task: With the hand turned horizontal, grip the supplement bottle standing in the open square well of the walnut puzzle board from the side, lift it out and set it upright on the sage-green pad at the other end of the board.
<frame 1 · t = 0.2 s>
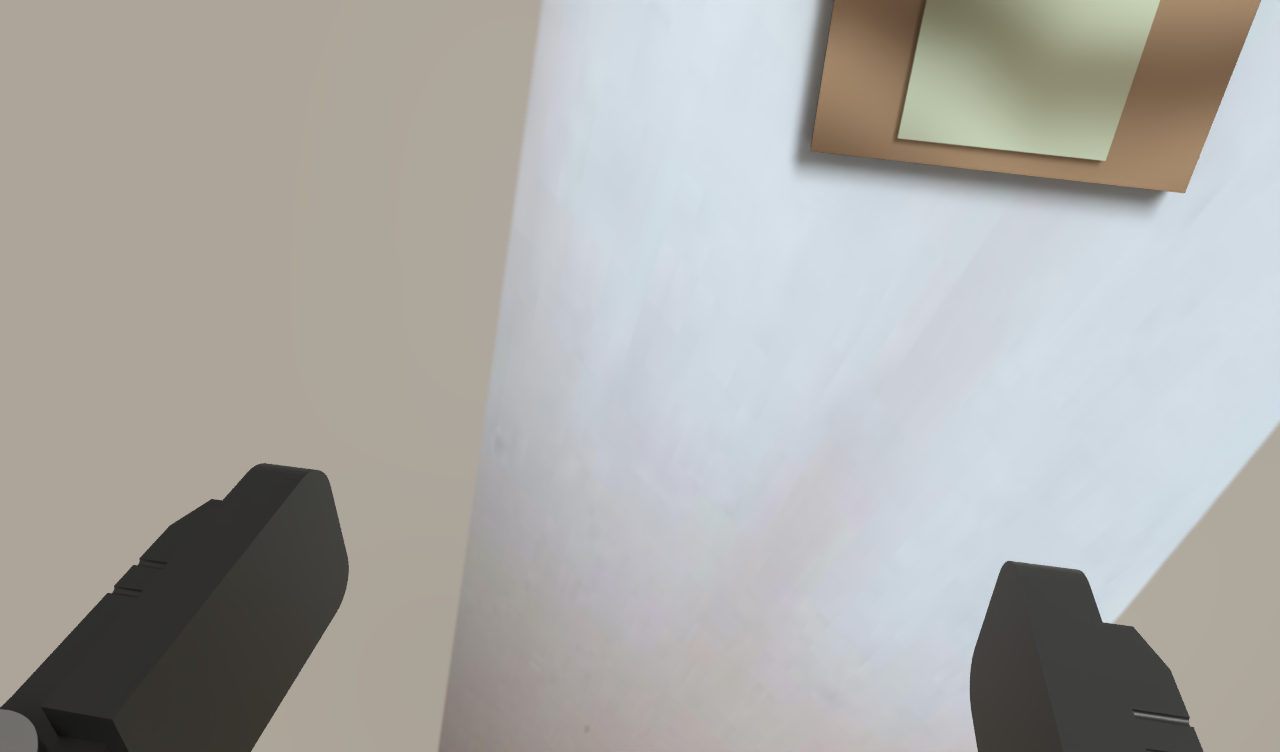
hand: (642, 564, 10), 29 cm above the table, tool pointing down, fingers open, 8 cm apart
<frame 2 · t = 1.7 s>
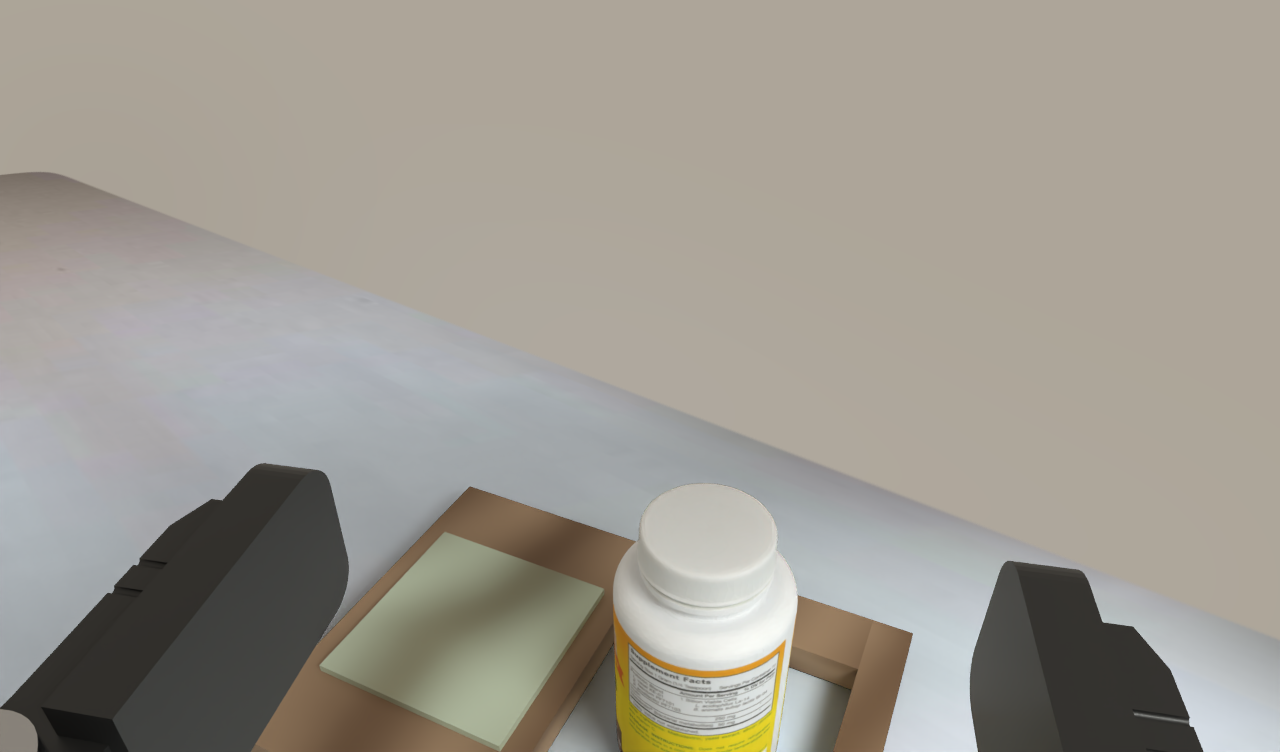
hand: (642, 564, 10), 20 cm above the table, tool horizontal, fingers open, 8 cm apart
puzzle board: (593, 701, 32), on the table
supplement bottle: (694, 747, 30), resting in puzzle board
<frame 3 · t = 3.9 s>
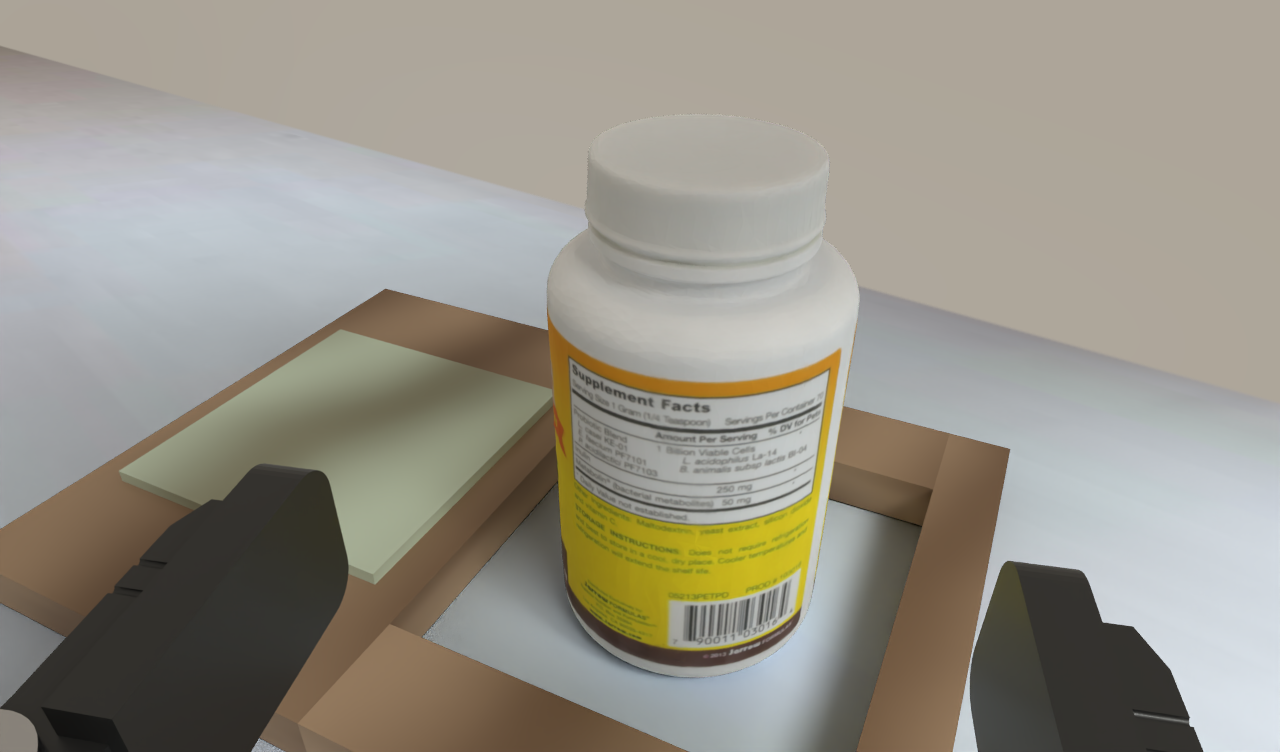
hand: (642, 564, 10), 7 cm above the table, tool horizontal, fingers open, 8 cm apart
puzzle board: (533, 534, 21), on the table
supplement bottle: (685, 596, 20), resting in puzzle board
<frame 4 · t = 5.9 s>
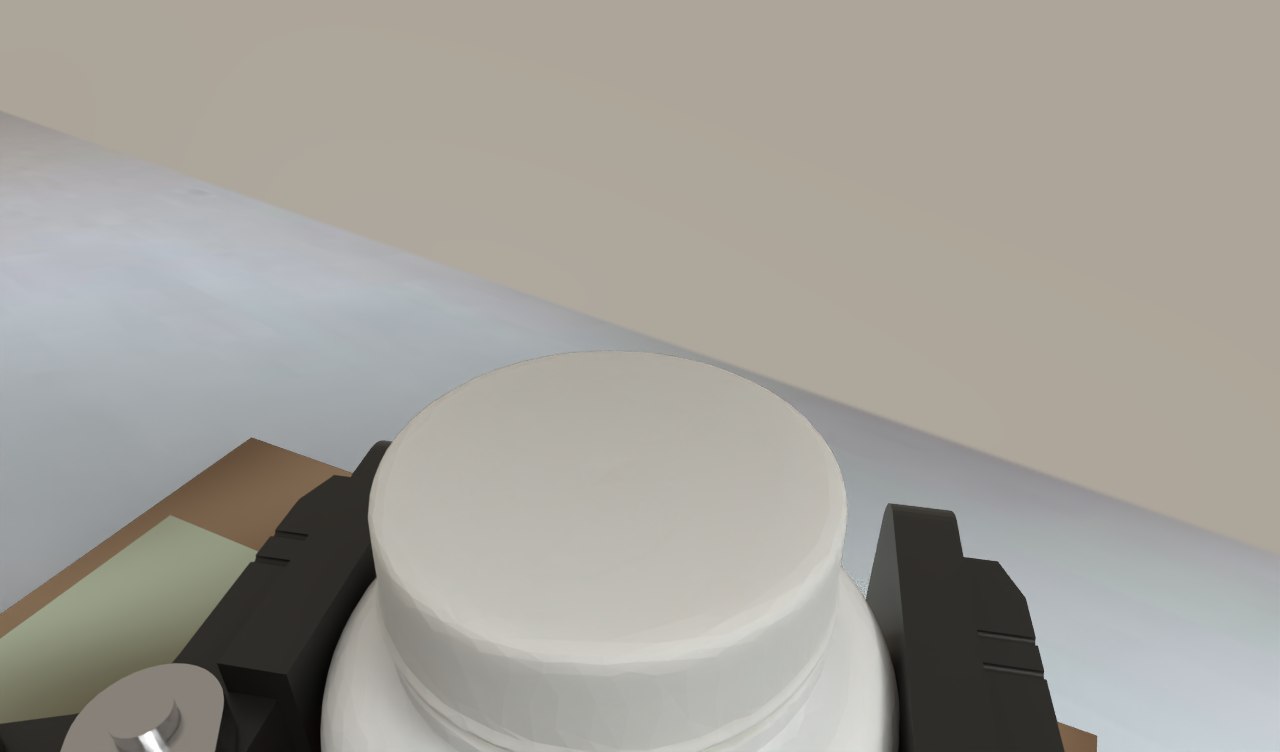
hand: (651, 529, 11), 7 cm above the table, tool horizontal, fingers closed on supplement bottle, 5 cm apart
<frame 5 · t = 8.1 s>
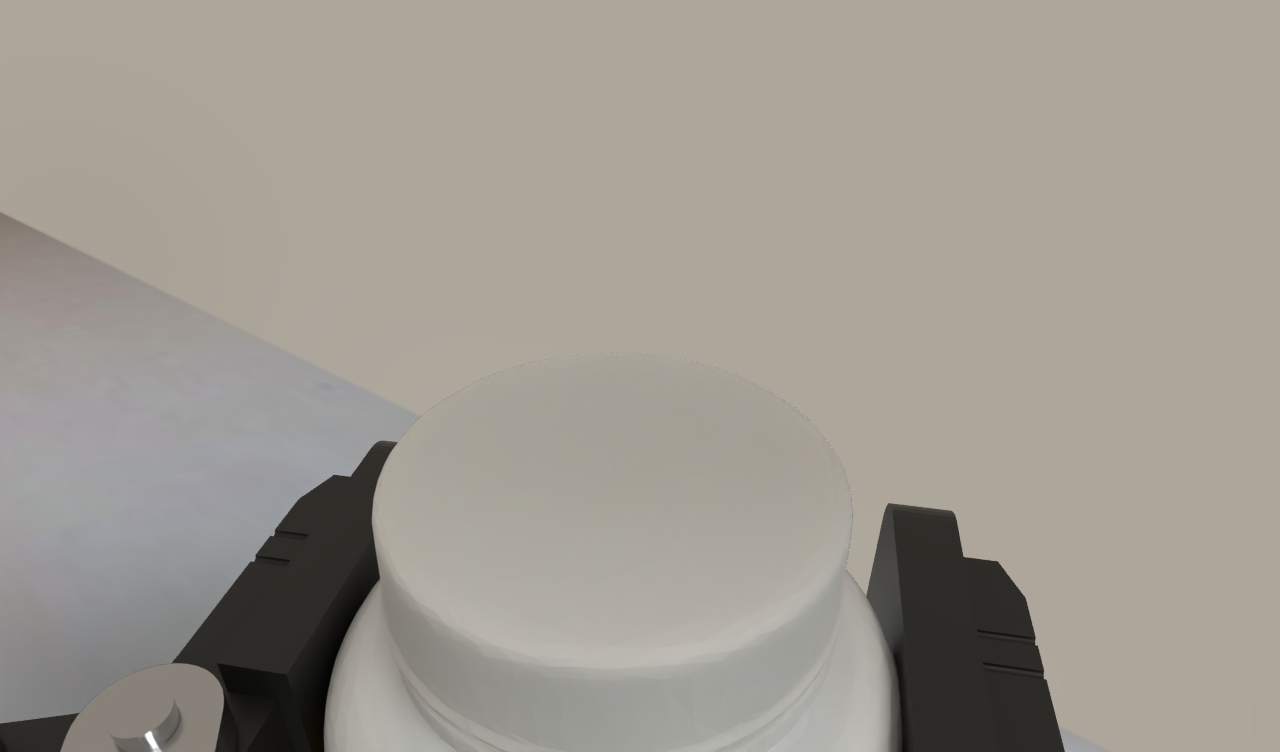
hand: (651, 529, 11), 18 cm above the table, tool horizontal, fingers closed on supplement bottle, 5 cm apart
when the fingers open (9 cm above the table, at t = 10.5 s): supplement bottle stays where it is, resting on puzzle board.
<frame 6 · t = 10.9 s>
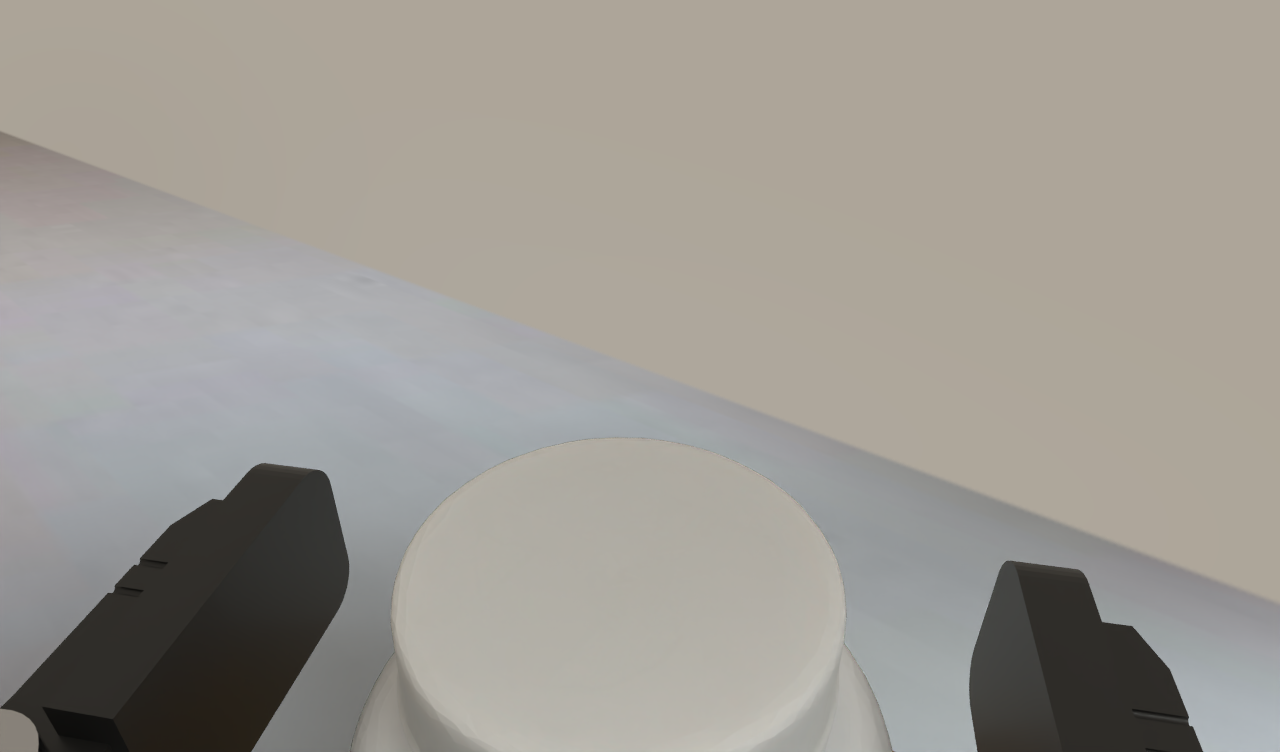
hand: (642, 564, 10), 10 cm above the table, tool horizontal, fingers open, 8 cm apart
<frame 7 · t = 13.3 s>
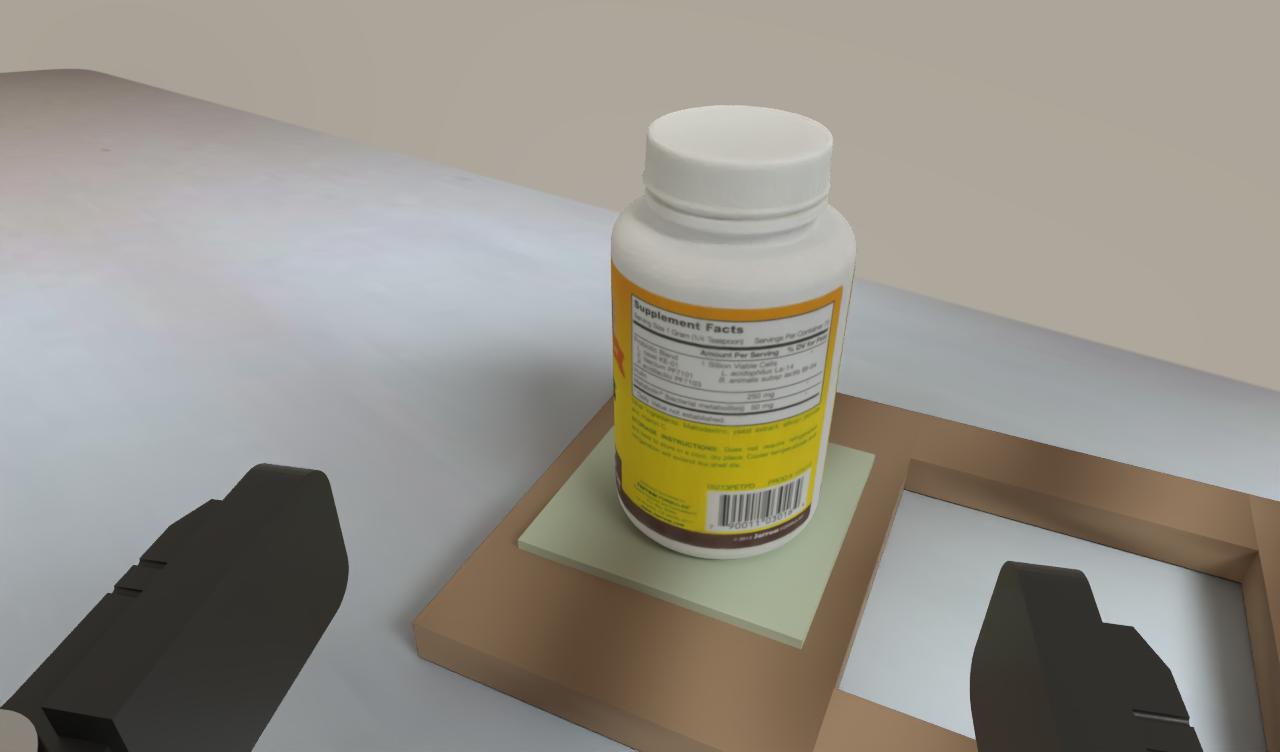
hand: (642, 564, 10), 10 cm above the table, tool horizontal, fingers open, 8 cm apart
puzzle board: (890, 594, 23), on the table
supplement bottle: (714, 503, 24), point 1 cm above the table, touching puzzle board
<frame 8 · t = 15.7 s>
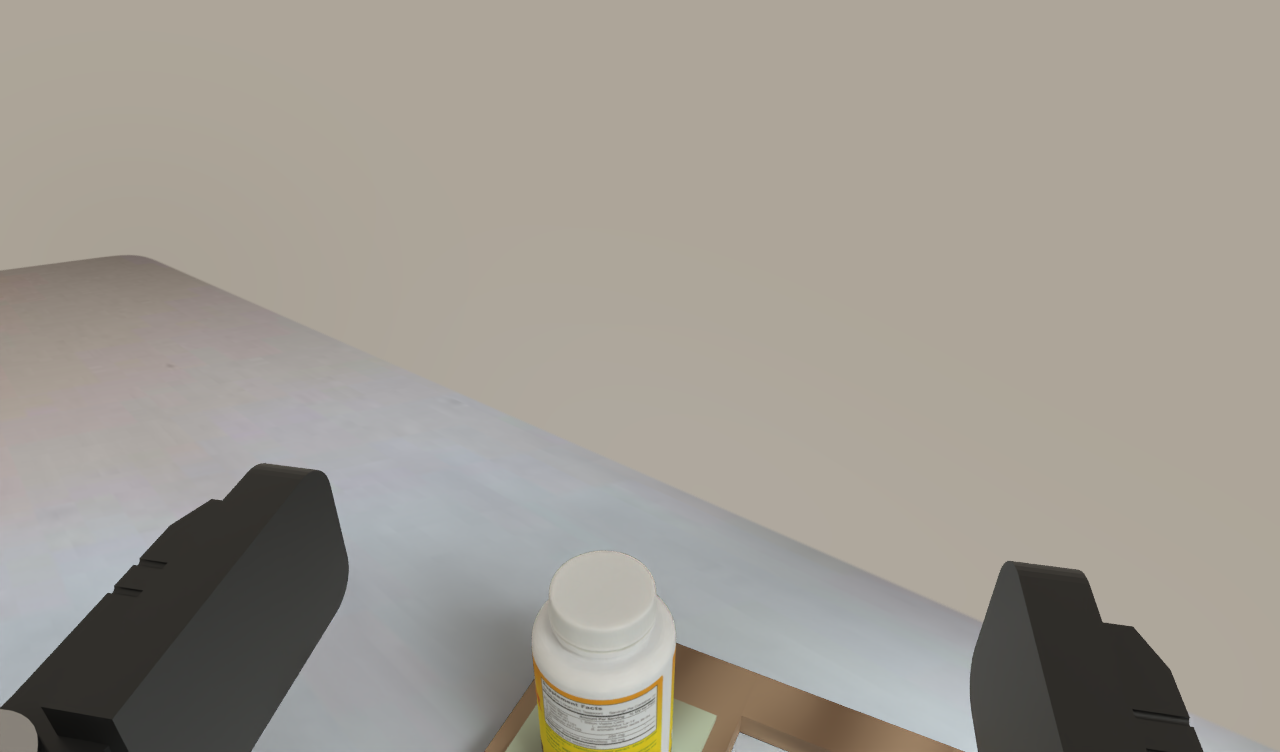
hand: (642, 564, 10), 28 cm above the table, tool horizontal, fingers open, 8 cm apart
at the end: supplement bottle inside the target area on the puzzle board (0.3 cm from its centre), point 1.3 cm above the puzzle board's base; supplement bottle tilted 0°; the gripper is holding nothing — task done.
